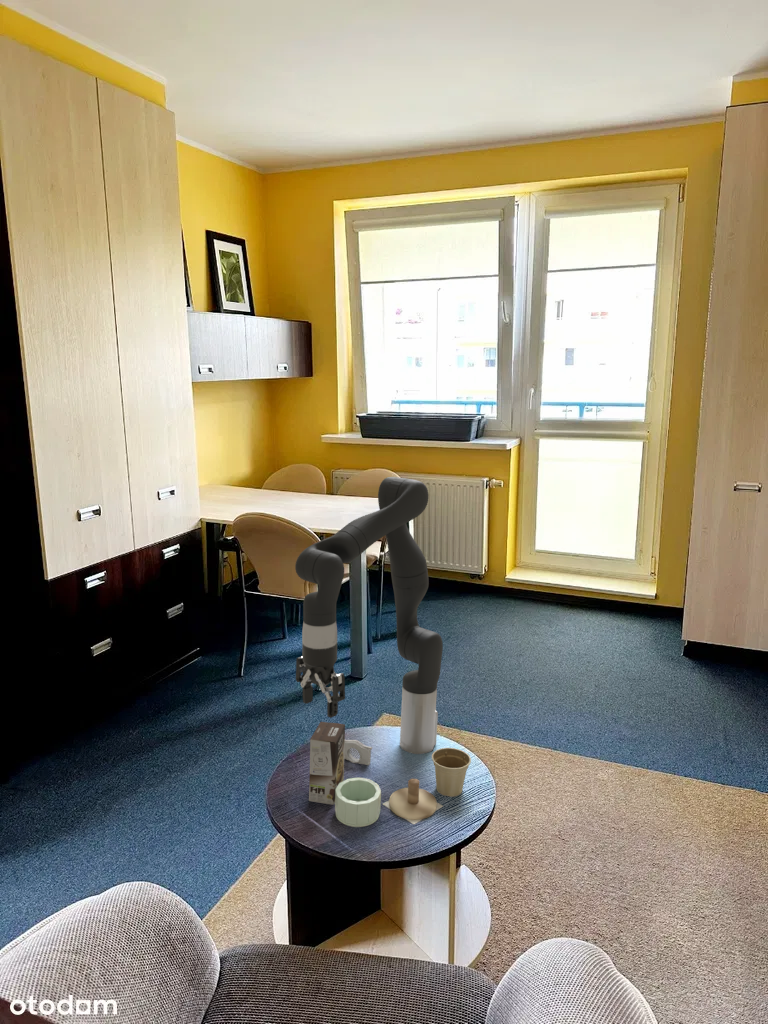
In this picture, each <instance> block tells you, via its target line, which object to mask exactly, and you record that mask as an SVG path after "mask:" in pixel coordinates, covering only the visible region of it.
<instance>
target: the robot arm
mask: <svg viewBox="0 0 768 1024" xmlns="http://www.w3.org/2000/svg"><path fill="white" fill-rule="evenodd" d="M428 502H429V490H428V488H427V486H426V484H425V483H424V482H422V481H420V480H418V479H412V478H407V477H406V478H405V477H398V476H388V477H386V478H384V479H383V480H382V481H381V482H380V484H379V487H378V492H377V503H378V508H379V509H378V510H376V511H374V512H371V513H368V514H365V515H362V516H360V517H358V518H356V519H354V520H352V521H350V522H348V523H347V524H346V525H345V526H344V527H342V528H341V529H339V530H338V531H337V532H336V533H334V534H333V535H332V536H329V537H326V538H325V539H322V540H319V541H318V542H315V543H313V544H311V545H309V546H308V547H306V548H305V549H304V550H302V552H300V554H299V555H298V557H297V558H296V561H295V566H294V567H295V573H296V575H297V576H298V577H299V578H300V579H301V580H304V581H306V582H308V583H312V584H315V585H317V586H318V589H317V591H311V592H308V593H307V594H306V595H305V596H304V598H303V603H302V604H303V605H302V606H303V607H302V608H303V610H302V611H303V613H302V614H303V616H302V617H303V623H302V635H301V636H302V641H301V644H302V646H301V647H302V648H301V650H302V651H301V652H302V653H301V654H302V655H301V656H299V657H296V661H295V680H296V682H297V683H300V687H301V688H302V702H303V704H309V703H312V701H313V699H314V698H313V697H314V694H313V693H314V691H313V689H314V688H313V684H314V685H317V687H319V688H320V690H321V692H322V694H324V696H325V697H326V700H327V703H326V708H327V710H326V711H327V712H326V713H327V714H326V715H327V717H328V718H330V719H331V718H334V717H336V716H337V715H338V712H339V710H338V709H339V703H340V702H342V701H343V700H346V686H345V685H346V684H345V683H346V682H345V681H346V680H345V674H344V673H343V672H341V673H337V672H335V667H334V665H335V663H336V662H337V660H338V627H337V625H338V624H337V601H338V598H339V596H340V590H341V587H342V583H343V580H344V576H345V566H344V564H349V563H352V561H354V560H356V559H357V558H358V557H359V556H360V555H362V553H363V554H364V552H365V551H366V550H368V549H369V548H370V547H371V546H372V545H373V544H374V543H376V542H377V541H379V540H380V539H381V538H383V537H385V538H386V543H387V550H388V551H387V552H388V556H389V563H390V575H391V583H392V588H393V594H394V595H393V596H394V603H395V605H394V606H395V615H396V616H395V617H396V645H397V650H398V653H399V655H400V656H401V658H403V659H405V660H406V661H409V662H411V663H413V664H414V663H415V664H417V665H418V668H417V669H414V670H411V671H408V672H406V673H405V674H404V675H403V677H402V685H401V686H402V688H401V689H402V690H401V691H402V692H401V709H400V710H401V713H400V733H399V735H400V736H399V737H400V739H399V747H400V749H402V750H403V751H405V752H407V753H409V754H415V755H422V754H423V755H424V754H427V753H430V752H432V751H433V750H434V749H435V748H434V747H435V746H436V745H437V736H438V735H437V734H438V733H437V732H438V720H439V719H438V718H439V712H438V711H437V694H438V692H437V691H438V690H437V689H438V683H439V679H440V675H441V670H442V669H441V667H442V659H443V648H444V647H443V645H444V643H443V637H442V636H441V635H440V634H439V633H438V632H436V631H432V630H430V629H427V628H423V627H420V625H419V620H418V608H419V605H420V604H421V602H422V601H423V599H424V597H425V595H426V593H427V591H428V589H429V585H430V583H429V582H430V581H429V574H428V564H427V559H426V556H425V555H424V553H423V551H422V549H421V547H420V546H419V544H418V543H417V542H416V540H415V539H414V537H413V536H412V534H411V533H410V530H409V528H408V525H407V523H409V522H411V521H412V520H415V519H416V518H418V517H419V516H421V515H422V513H423V512H424V511H425V510H426V509H427V505H428ZM329 684H330V686H329ZM326 686H328V687H326ZM331 693H332V694H331Z"/></svg>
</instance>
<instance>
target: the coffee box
mask: <svg viewBox="0 0 768 1024" xmlns="http://www.w3.org/2000/svg"><path fill="white" fill-rule="evenodd" d="M309 739H310V743H309V744H310V745H309V778H308V779H309V783H308V786H309V787H308V788H309V789H308V801H309V802H314V803H321V804H326V805H334V806H335V790H336V788H337V786H338V784H339V783H341V782H343V781H345V777H344V776H345V759H344V747H345V740H346V724H344V723H337V722H327V721H320V722H319V724H318V725H317V727H316V728H315V731H314V732H313V734H312V735H311V737H310V738H309Z"/></svg>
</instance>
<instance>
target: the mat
mask: <svg viewBox="0 0 768 1024" xmlns="http://www.w3.org/2000/svg"><path fill="white" fill-rule="evenodd" d="M382 805H383V806H385V808H387V809H388V810H391V809H390V806H389V800H387V801H385V802H384V803H382ZM442 807H444V806H443V805H442V804H441V803H439V802H437V806H436V811H439V810H440V809H441V808H442ZM405 820H406V821H407V822H409V823H411V824H412V825H416V824H417V823H419V822H421V821H422V820H423V819H421V820H409V819H405Z"/></svg>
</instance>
